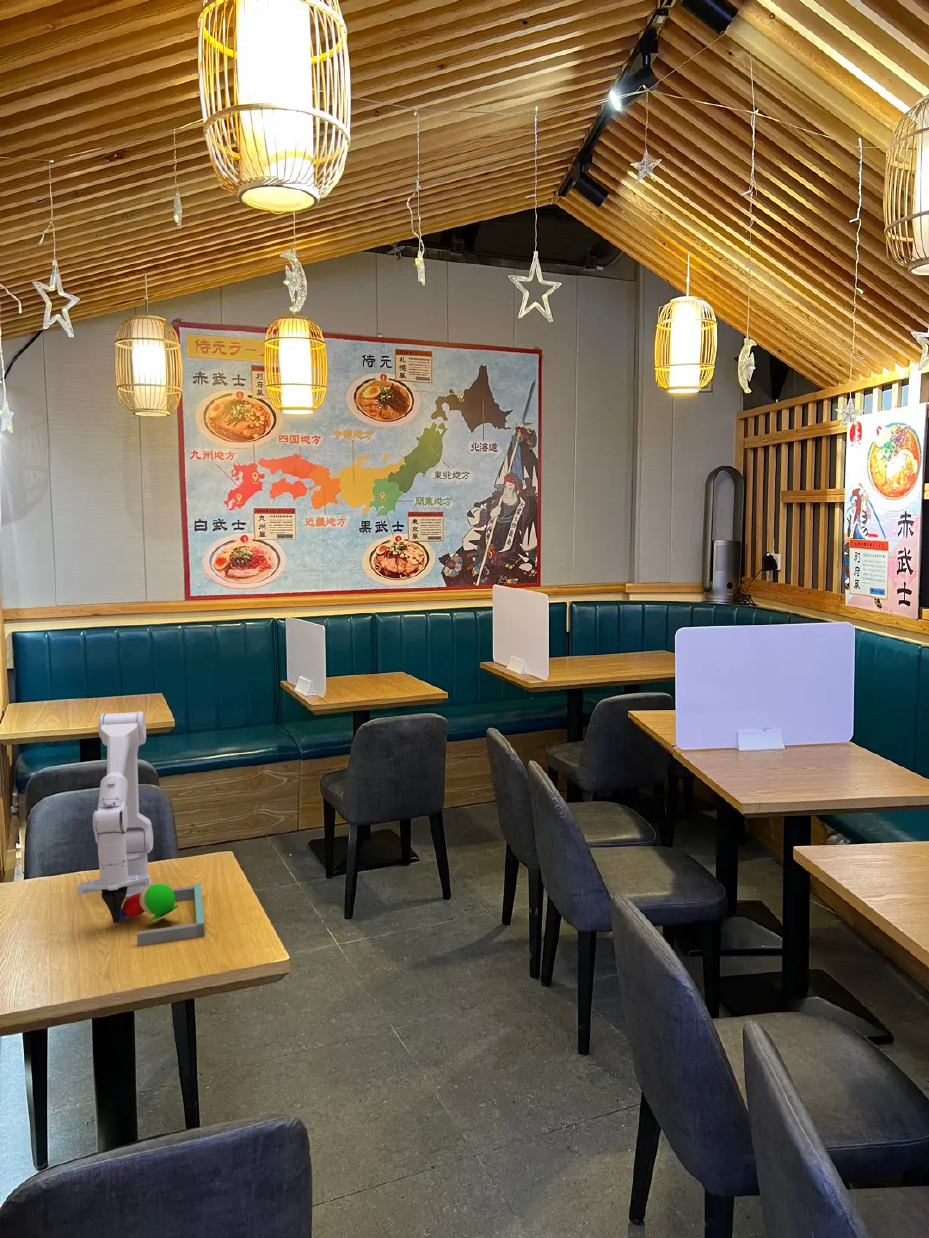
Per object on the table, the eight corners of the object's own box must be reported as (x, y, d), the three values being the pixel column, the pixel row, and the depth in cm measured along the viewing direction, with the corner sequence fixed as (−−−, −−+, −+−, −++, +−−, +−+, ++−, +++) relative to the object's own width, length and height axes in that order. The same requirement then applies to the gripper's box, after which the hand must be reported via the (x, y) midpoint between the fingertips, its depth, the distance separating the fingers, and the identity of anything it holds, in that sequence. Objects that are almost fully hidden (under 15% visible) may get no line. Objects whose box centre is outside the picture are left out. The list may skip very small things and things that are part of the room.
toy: (119, 941, 199) (162, 917, 193) (104, 908, 200) (146, 884, 194) (147, 925, 207) (190, 902, 200) (133, 894, 208) (174, 870, 201)
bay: (141, 903, 211) (140, 890, 210) (201, 895, 215) (200, 882, 215) (137, 946, 189) (136, 932, 189) (204, 936, 193) (204, 922, 193)
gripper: (75, 871, 191) (79, 933, 192) (147, 862, 195) (151, 923, 197) (78, 860, 198) (82, 919, 199) (148, 851, 202) (151, 910, 203)
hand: (116, 920), depth 198 cm, fingers closed
